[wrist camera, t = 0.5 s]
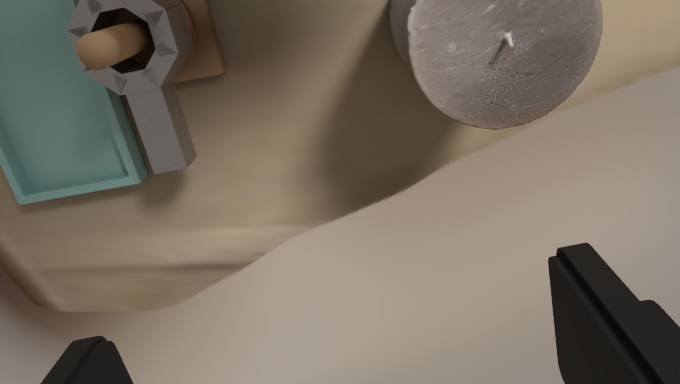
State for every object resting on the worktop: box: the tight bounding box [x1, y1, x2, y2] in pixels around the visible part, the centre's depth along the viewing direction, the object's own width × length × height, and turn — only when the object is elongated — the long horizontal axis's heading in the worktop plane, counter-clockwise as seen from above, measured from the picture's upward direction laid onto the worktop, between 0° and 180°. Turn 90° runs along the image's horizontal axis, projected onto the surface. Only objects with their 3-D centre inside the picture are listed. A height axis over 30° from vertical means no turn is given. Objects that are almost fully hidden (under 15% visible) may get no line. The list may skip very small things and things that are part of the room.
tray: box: [0, 0, 149, 205], centre depth 41 cm, size 18×10×2 cm, turn 11°
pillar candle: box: [389, 0, 603, 130], centre depth 32 cm, size 10×10×15 cm
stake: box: [77, 0, 226, 83], centre depth 35 cm, size 8×8×11 cm
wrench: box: [66, 0, 196, 174], centre depth 36 cm, size 12×6×4 cm, turn 11°
